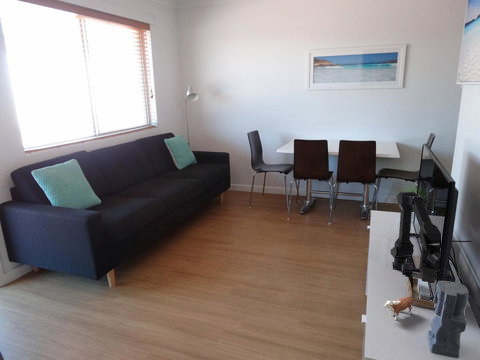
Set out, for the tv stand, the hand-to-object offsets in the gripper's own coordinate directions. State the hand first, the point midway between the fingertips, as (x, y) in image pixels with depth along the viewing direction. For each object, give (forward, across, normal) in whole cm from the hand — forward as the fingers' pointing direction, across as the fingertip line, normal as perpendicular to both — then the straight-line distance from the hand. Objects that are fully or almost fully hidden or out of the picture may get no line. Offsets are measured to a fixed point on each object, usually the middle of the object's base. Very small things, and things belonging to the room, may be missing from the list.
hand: (423, 289), depth 153 cm
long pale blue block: (+2, 0, 0) cm, 2 cm away
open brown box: (+3, 0, 0) cm, 3 cm away
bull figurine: (+3, -11, -18) cm, 21 cm away
